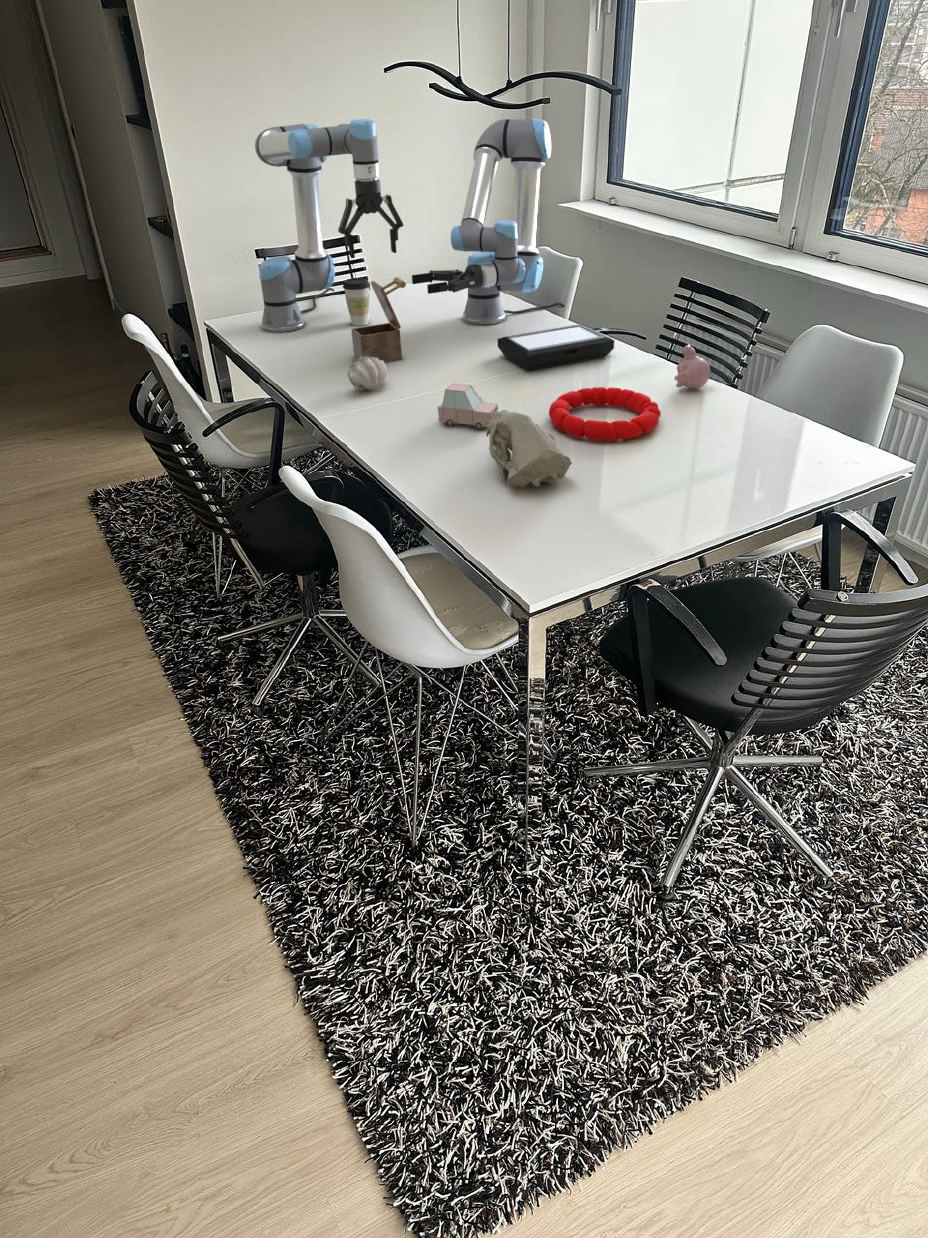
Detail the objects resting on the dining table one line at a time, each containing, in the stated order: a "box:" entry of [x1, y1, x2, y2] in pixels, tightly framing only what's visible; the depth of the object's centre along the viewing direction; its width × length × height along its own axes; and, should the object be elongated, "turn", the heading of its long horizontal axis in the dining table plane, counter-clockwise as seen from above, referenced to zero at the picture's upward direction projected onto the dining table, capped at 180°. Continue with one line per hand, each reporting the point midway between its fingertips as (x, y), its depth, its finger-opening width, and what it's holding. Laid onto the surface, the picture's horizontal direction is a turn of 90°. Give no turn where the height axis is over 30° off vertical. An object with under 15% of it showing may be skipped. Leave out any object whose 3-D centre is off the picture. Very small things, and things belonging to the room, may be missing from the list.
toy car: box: [437, 382, 499, 431], centre depth 243 cm, size 9×15×10 cm, turn 70°
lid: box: [369, 276, 407, 330], centre depth 286 cm, size 14×10×9 cm
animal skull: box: [485, 409, 573, 489], centre depth 216 cm, size 17×25×20 cm
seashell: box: [347, 356, 388, 391], centre depth 267 cm, size 10×15×10 cm
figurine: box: [674, 344, 711, 390], centre depth 259 cm, size 9×11×12 cm
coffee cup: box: [342, 277, 371, 327], centre depth 323 cm, size 10×10×15 cm
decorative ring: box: [548, 386, 661, 442], centre depth 242 cm, size 7×30×30 cm
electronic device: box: [497, 323, 615, 371], centre depth 288 cm, size 32×6×20 cm
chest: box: [350, 322, 403, 363], centre depth 291 cm, size 13×10×10 cm
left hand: (373, 254), depth 276 cm, fingers open, 13 cm apart
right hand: (419, 284), depth 287 cm, fingers open, 13 cm apart
